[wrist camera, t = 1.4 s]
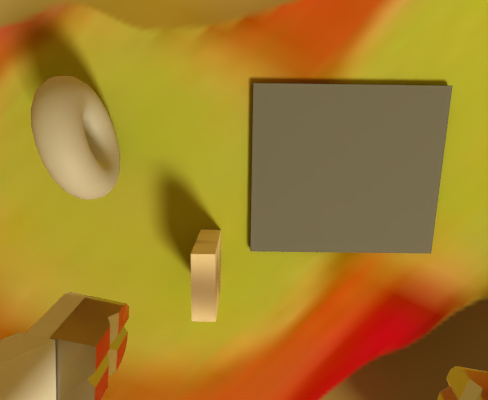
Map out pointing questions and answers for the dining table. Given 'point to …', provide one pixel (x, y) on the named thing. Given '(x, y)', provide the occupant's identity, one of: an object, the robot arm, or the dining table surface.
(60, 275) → the dining table surface
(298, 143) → the mat
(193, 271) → the block
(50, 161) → the donut
